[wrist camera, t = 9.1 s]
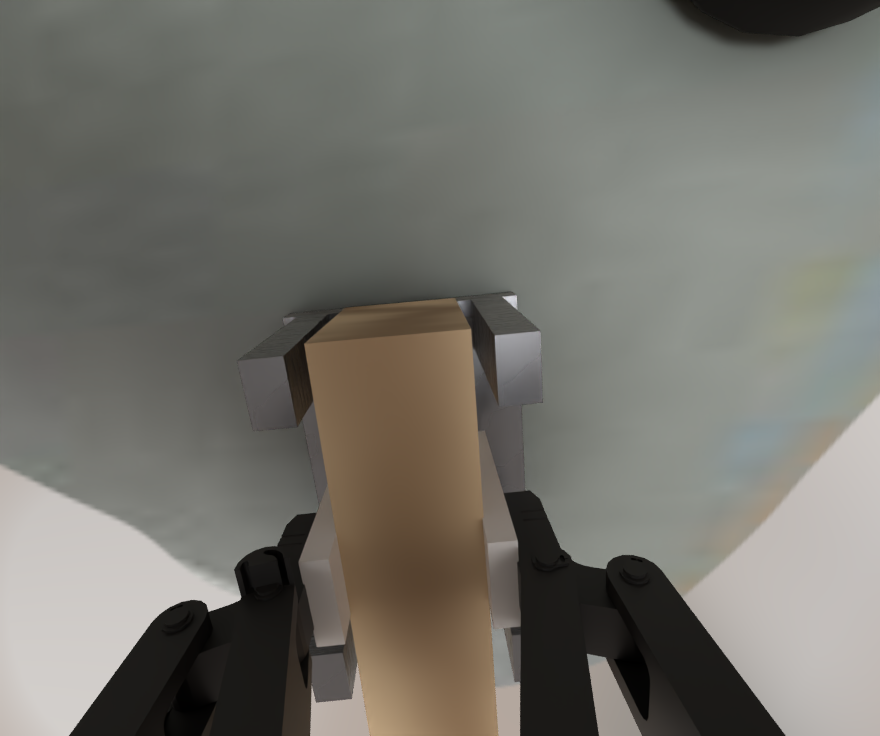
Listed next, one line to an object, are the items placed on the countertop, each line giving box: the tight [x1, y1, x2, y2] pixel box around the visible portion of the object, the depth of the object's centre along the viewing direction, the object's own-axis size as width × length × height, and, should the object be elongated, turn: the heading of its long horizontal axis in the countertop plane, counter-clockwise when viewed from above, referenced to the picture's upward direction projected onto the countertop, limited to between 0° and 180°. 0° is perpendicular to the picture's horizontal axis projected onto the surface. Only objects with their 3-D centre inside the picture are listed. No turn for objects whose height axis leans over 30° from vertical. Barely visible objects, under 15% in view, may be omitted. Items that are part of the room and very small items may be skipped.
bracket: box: [237, 292, 543, 702], centre depth 17 cm, size 9×12×7 cm
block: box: [304, 298, 498, 736], centre depth 16 cm, size 4×14×6 cm, turn 5°
